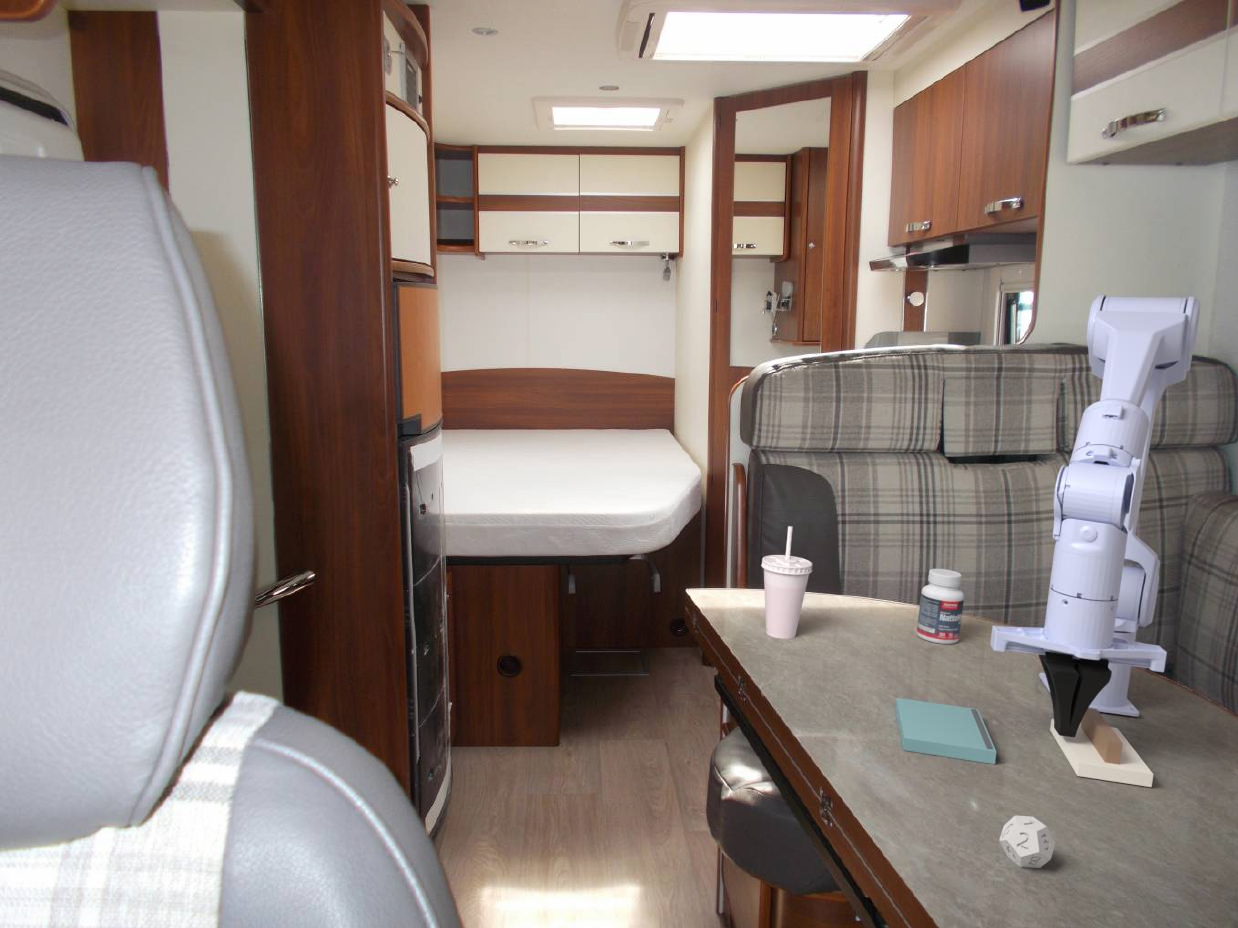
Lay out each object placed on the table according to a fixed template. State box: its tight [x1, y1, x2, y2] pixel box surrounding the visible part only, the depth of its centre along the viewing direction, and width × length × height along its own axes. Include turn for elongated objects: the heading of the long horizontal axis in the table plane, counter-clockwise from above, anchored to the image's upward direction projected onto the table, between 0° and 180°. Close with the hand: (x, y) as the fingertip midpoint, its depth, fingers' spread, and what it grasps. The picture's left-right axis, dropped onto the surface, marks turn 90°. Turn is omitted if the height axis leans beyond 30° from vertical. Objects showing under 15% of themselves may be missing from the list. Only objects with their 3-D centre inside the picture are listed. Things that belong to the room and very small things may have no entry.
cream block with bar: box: [1049, 708, 1154, 788], centre depth 83 cm, size 10×6×3 cm, turn 167°
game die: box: [998, 815, 1056, 869], centre depth 65 cm, size 4×4×3 cm
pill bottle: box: [916, 568, 965, 645], centre depth 116 cm, size 5×5×9 cm
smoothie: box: [760, 525, 813, 640], centre depth 113 cm, size 6×6×14 cm
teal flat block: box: [894, 697, 997, 765], centre depth 86 cm, size 10×8×1 cm
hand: (1064, 732), depth 84 cm, fingers closed
